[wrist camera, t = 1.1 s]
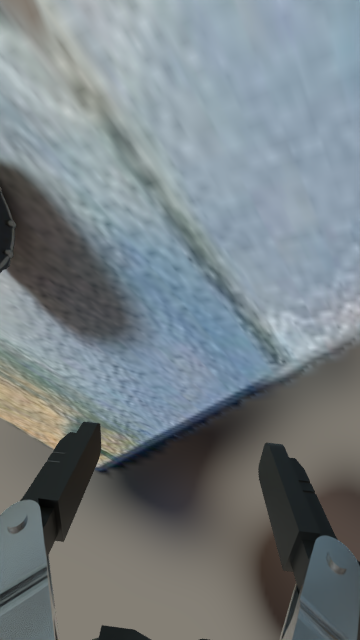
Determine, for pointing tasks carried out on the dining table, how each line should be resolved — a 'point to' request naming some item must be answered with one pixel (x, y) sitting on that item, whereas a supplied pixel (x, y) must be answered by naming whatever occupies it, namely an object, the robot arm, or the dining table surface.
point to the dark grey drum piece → (6, 234)
